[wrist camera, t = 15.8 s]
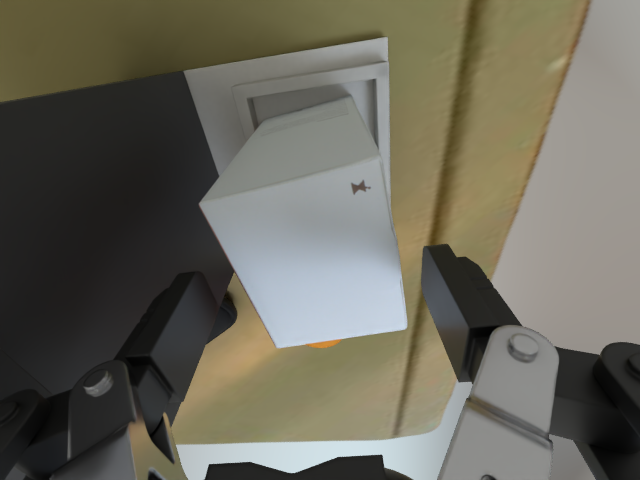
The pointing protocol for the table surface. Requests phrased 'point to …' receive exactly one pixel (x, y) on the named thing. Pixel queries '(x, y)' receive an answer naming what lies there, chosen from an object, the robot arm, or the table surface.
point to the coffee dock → (137, 196)
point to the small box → (311, 227)
